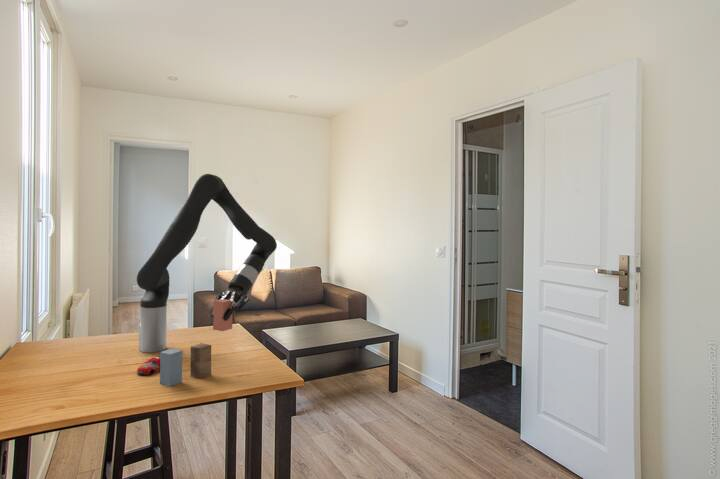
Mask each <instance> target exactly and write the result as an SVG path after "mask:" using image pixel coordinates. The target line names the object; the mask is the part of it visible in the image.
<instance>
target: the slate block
mask: <svg viewBox="0 0 720 479" xmlns="http://www.w3.org/2000/svg"><path fill="white" fill-rule="evenodd" d="M159 354H160V355H159V356H160V370H159V377H160V378H159V384H161V385H164V386H167V387H172V386H175V385H177V384H180V383H182V382H183V350H181V349H176V348H170V349H167V350H166V349H165V350H162V351H159Z"/></svg>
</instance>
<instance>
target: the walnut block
mask: <svg viewBox="0 0 720 479" xmlns="http://www.w3.org/2000/svg"><path fill="white" fill-rule="evenodd" d="M189 373H190V377H191V378H195V379H198V380H202V379H205V378H207V377H210V376H212V344H208V343H202V342H201V343H197V344H193V345H191V346H190V372H189Z"/></svg>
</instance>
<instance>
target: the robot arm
mask: <svg viewBox="0 0 720 479" xmlns="http://www.w3.org/2000/svg"><path fill="white" fill-rule="evenodd" d="M211 201H213V202H215V203H216V204H217V205H218V206H219V207H220V208H221V210H223V211H224V212H225V214H226V216H227V217H228V218H229V220H230V223H231V224H232V225H233V226H234V228H235V229H236V230H237V231H238V232H239V233H240V234H241V235H242V237H243V238H244V239H246V240H248V241H249V240H252V241H253V242H255V243H256V244H255V245H254V246H253V247H252V248H253V249H252V250H251V252H250V254H249V255H248V256H247V258H246V259H245V261H244V262H243V263H242V265H241V266H240V267H239V268H238V269H237V271H236V273H235V274H234V276H232V279H231V280H230V281H229V283H228V288H227V289H226V290H225V291H223V292H222V291H221V290H218V292H217V294H216V296H215V298H214V300H213V301H215V300H220V299H227V300H231V304H230V305H229V309H227V310H226V312H225V313H224V315H223V316H222V318H223V319H224V320H225V321H227V320H228V319H229V318H230V316H231V314H232V315H233V313H234V312H240V311H241V310H242V309H243V307H244V306H246V304H248V302H249V301H250V297H249V295H248V294H249V292H250V290H251V289H252V287H253V285H254V284H255V283H256V281H257V279H258V277H259V275H260V274H261V272H262V270H263V269H264V266H265V263H266V261H267V260H268V259H269V257H270V256H271V255H272V254H273V253H274V252H275V251H276V250H277V247H278V244H277V240H276V238H274V236H272V234H270V233H269V232H268V231H266V230H265V229H264V228H262V227H261V226H259V224H258V223H257V222H256V221H254V219H253V218H252V217H251V216H250V214H249V213H247V211H246V210H245V209H244V208H243V207H242V206H241V204H240V203H238V201H237V200H236V199H235V197H234V196H233V195H232V193H231V192H230V190H229V189H228V186H226V184H225V183H224V181H223V179H222V178H221V177H220V176H218V175H216V174H211V173H204V174H202V175H200V176H199V177H198V178H197V179H196V181H195V183H194V185H193V187H192V188H191V191H190V193H189V195H188V197H187V199H186V200H185V202H184V203H183V205H182V207H181V208H180V209H179V211H178V213H177V215H176V216H175V217H174V219H173V220H172V221H171V223H170V225H169V226H168V228H167V230H166V232H165V233H164V235H163V236H162V237H161V239H160V241H159V243H158V244H157V247H156V248H155V250H154V251H153V252H152V254H151V255H150V256H149V258H148V259H147V260H146V262H145V263H144V264H143V265H142V267H140V269H139V271H138V273H137V275H136V283H137V286H138V287H139V288H140V289H142V290H144V291H145V293H144V295H143V296H142V298H141V299H140V318H139V319H140V322H139V323H140V324H139V326H138V350H140V352H142V353H157V352H162V351H166V349H167V329H168V328H167V324H168V323H167V320H168V318H167V317H168V316H167V314H168V313H167V311H168V310H167V306H168V304H167V302H168V298H169V295H170V273H169V270H168V269H167V268H168V266H169V265H170V264H171V262H172V261H173V260H174V259H175V258H176V257H177V256H178V255H179V254H180V253H181V252H182V251H184V250H185V248H186V247H187V246H188V245H189V243H190V242H191V240H192V239H193V237H194V236H195V234H196V233H197V230H198V227H199V225H200V221H201V218H202V215H203V212H204V211H205V210H206V207H207V206H208V205H209V203H210V202H211ZM210 316H211V317H212V318H213V311H212V313H211V315H210Z"/></svg>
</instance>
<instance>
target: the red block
mask: <svg viewBox="0 0 720 479" xmlns="http://www.w3.org/2000/svg"><path fill="white" fill-rule="evenodd" d="M214 300H215V299H214ZM214 300H213V306H212V307H213V310H212V312H213V317H212V330H215V331H219V332H225V331H229V330H231V329H233V313H232V314H231V316H230V318H229V319H228V320H227V321H225V320H224V319H223V318H222V316H223V315H224V313H225V312H226V310H227V309H229V305H230V304H231V300H227V299H220V300H215V301H214Z"/></svg>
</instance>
